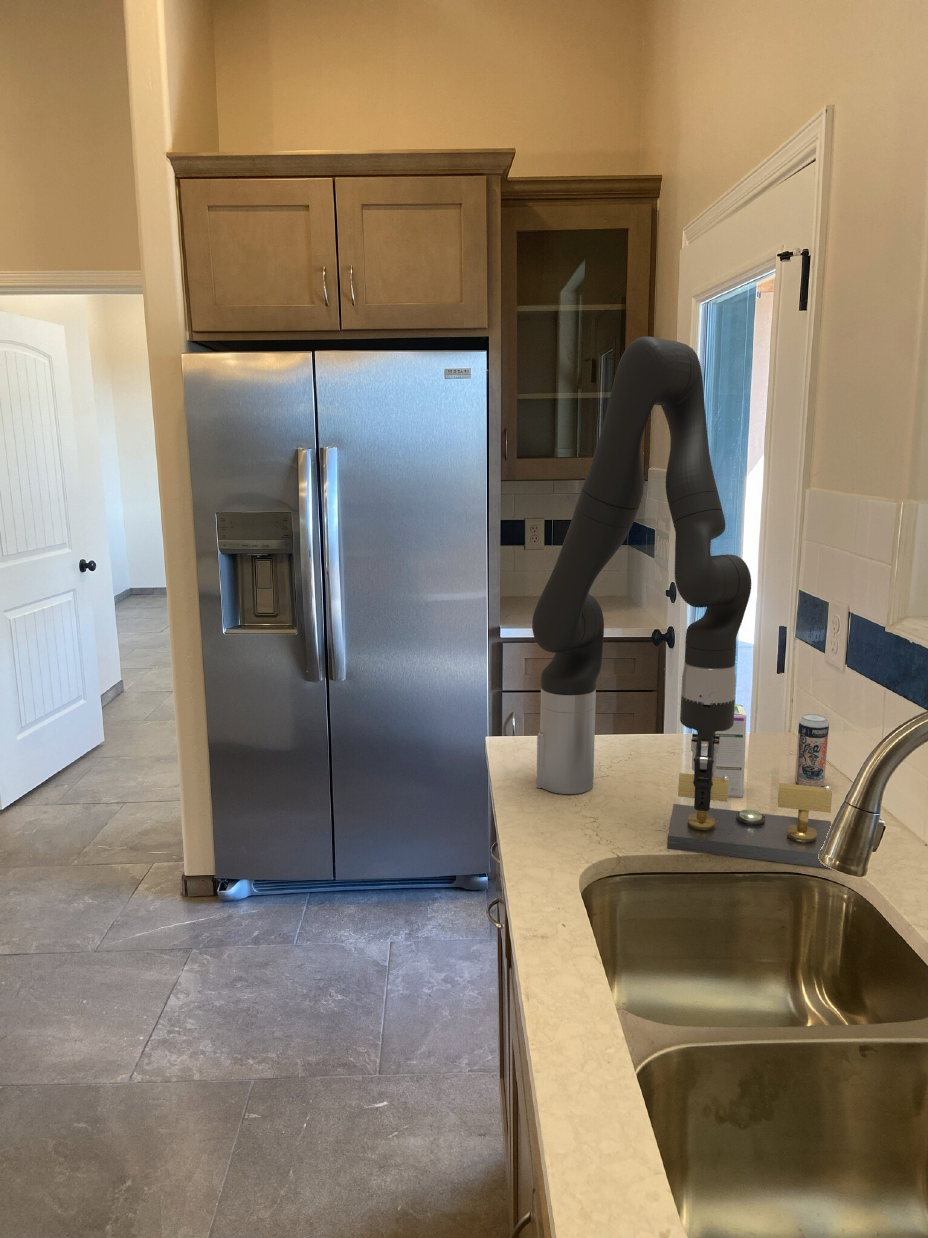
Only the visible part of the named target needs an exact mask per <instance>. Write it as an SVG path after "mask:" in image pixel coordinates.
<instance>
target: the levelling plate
mask: <svg viewBox="0 0 928 1238" xmlns="http://www.w3.org/2000/svg"><path fill="white" fill-rule="evenodd" d="M691 814H697V810H695V808H694V805H689V804H679V803H673V805H672V810H671V817H670V822H669V827H668V832H667V842H666V849H669V850H675V851H676V850H678V851H687V852H691V853H692V852H695V853H702V854H710V855H717V856H725V857H733V858H742V859H750V860H758V861H764V862H765V861H767V862H775V863H782V864H791V865H798V866H806V867H807V866H808V867H815V868H822V869H829V868H828V867H826V866H824V865H823V864H821V863H820V861H819V859H818V854H819V852H820V849H821V847H822V846H823V844H824V841H825V840H826V836H827V833H828V831H829V829H830V826H831V825H832V822H831V820H824V819H816V818H808V826H809V827H812V828H814V829H815V830H816V831H817V838H816V840H815V841H813V842H799V841H795V840H793V839H791V838H789V837H788V836H787V828H788V826H790V825H797V821H798V816H797V817H796V816H788V815H778V814H769V813H761V812H759V811H757V810H754V809H742V810H732V809H725V808H724V809H723V808H715V807H710V809H709V811H707V815H710V816H712V817H714V818H715V820H716V822H715V828H714V829H711V830H697V829H693V828H691V827H690V826H688V824H687V822H688V816H689V815H691Z"/></svg>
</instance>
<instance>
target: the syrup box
mask: <svg viewBox="0 0 928 1238" xmlns="http://www.w3.org/2000/svg"><path fill="white" fill-rule="evenodd" d="M746 730H747V714H746V710H745V708H744V705H742V704H736V703H735V707H734V724H733V726H732V727H731V728H730V729H728V730H725V731H717V732H715V734H716V735H717V736H720V743H719V753H718V754H717V764H716V772H715V773H714V776H715V777H722V776H727V777H728V778H729V780H728V798H741V799H742V798H743V797H744V783H745V768H746V767H745V764H746V737H747V735H746V734H747V731H746Z"/></svg>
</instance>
